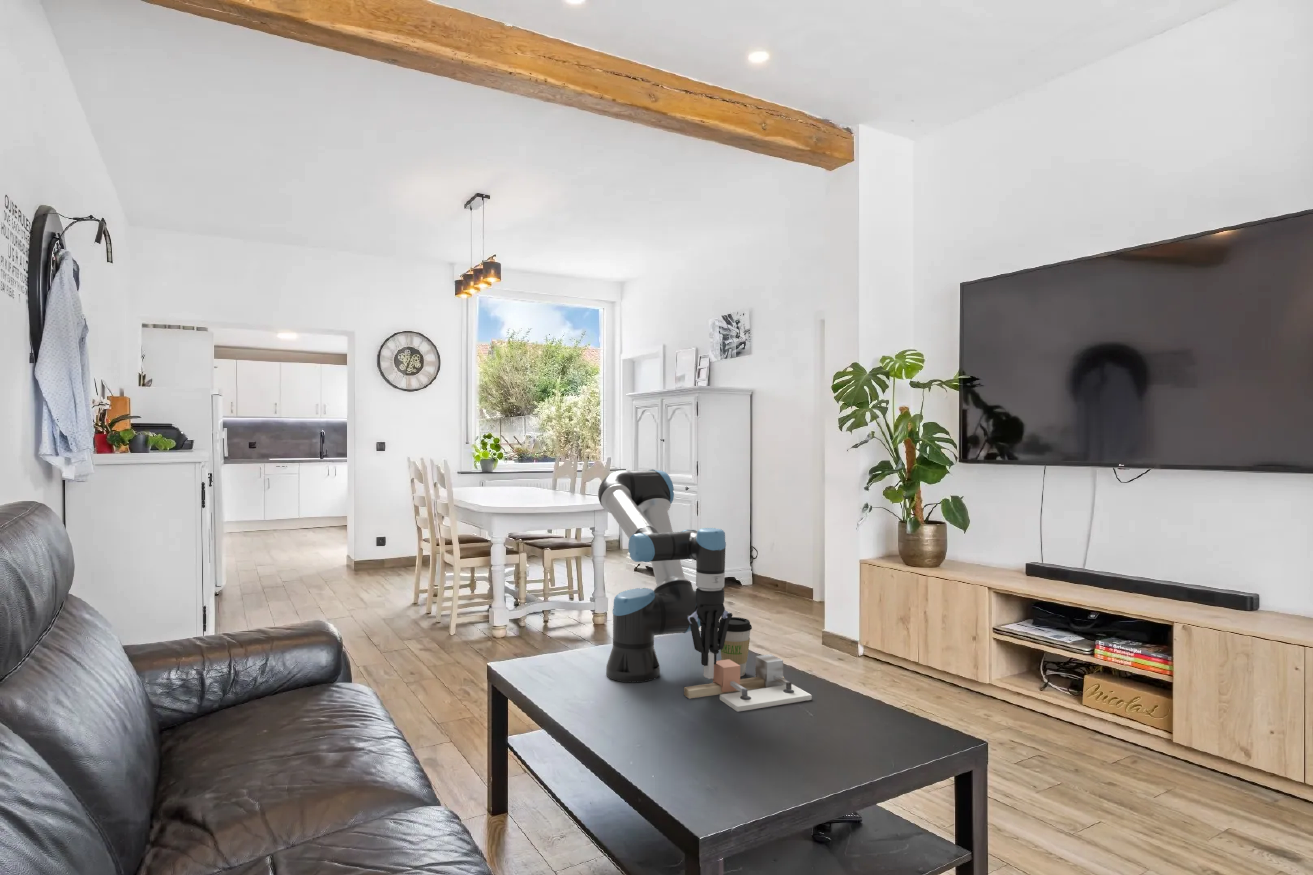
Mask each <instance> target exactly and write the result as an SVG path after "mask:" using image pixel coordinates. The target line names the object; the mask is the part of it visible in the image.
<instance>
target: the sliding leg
mask: <svg viewBox="0 0 1313 875" xmlns="http://www.w3.org/2000/svg"><path fill="white" fill-rule="evenodd" d="M740 679H741V676H740V665H738V664H737V663H735V662H733V661H731V660H730V659H727V660H721V659H720V660H716V664H714V678H713V679H712V683H718V684H720V685H721V692H729V691H736V690H738V691H737V692H742V696H747V691H748V690H747V689H746V688H744V687H742V686H741V685H740Z"/></svg>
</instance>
